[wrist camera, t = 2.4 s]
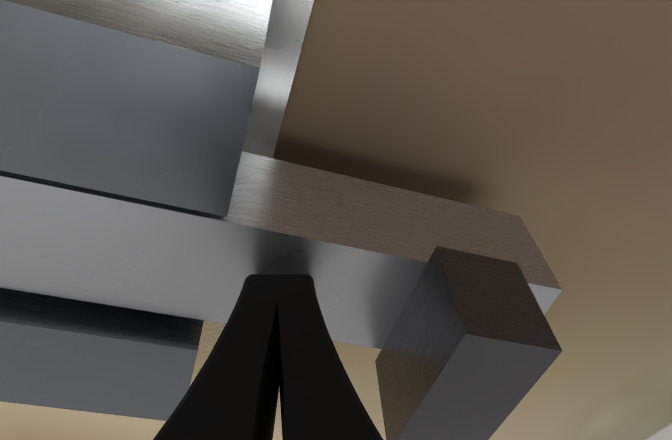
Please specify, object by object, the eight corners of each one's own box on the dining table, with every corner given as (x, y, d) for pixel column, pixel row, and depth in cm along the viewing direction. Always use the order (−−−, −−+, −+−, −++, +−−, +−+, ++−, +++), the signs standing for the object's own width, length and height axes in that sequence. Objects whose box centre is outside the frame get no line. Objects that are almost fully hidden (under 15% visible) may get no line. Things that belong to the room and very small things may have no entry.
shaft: (528, 202, 14) (629, 362, 10) (466, 301, 17) (526, 468, 12) (-302, 1, 10) (-752, 122, 6) (-238, 168, 13) (-531, 346, 8)
